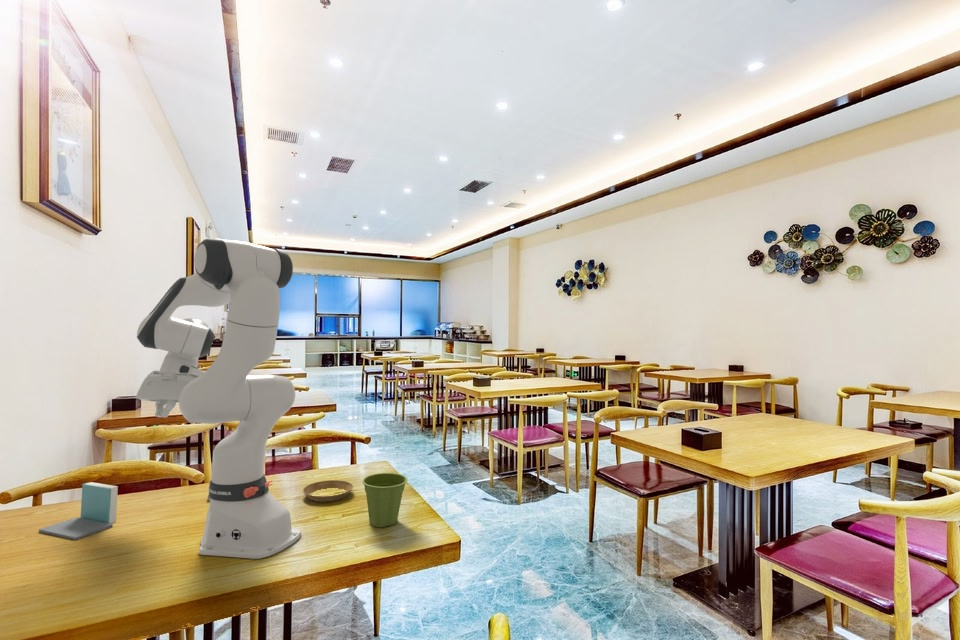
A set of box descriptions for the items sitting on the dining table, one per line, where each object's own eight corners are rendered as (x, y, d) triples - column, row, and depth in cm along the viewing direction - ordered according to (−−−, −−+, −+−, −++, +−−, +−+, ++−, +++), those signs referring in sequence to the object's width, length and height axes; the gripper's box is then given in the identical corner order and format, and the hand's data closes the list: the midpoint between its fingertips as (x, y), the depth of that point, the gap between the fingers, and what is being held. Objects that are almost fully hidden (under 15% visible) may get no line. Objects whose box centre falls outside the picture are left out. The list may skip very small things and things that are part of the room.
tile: (115, 521, 115) (117, 486, 116) (107, 524, 113) (109, 488, 114) (89, 516, 118) (91, 482, 119) (80, 519, 116) (82, 484, 117)
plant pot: (359, 533, 111) (360, 487, 111) (362, 514, 123) (363, 473, 123) (407, 530, 113) (408, 485, 114) (405, 512, 125) (406, 471, 125)
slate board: (112, 526, 112) (112, 524, 112) (75, 540, 104) (75, 537, 105) (76, 519, 116) (77, 517, 116) (38, 531, 108) (38, 529, 108)
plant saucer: (361, 490, 143) (361, 482, 143) (336, 507, 128) (337, 498, 128) (320, 486, 146) (320, 478, 146) (291, 502, 132) (292, 493, 132)
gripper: (141, 367, 134) (122, 413, 128) (196, 368, 129) (180, 415, 124) (159, 373, 139) (142, 417, 134) (213, 374, 135) (197, 420, 129)
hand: (160, 416), depth 129 cm, fingers closed
